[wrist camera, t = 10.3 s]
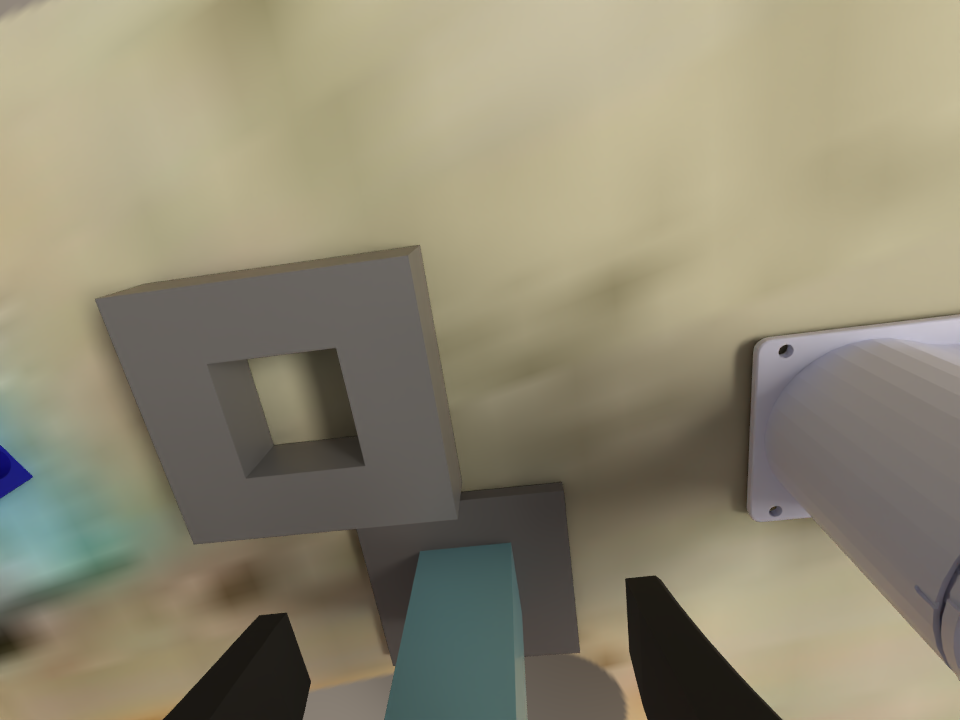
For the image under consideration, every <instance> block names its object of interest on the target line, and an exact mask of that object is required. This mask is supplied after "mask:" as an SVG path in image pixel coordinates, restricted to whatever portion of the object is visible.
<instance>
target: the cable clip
mask: <svg viewBox="0 0 960 720" xmlns="http://www.w3.org/2000/svg"><path fill="white" fill-rule="evenodd" d="M32 477H33V476H32V475H31V474H30V473H29V472H28V471H27V470H26V469H25V468H24V467H22V466H21V465H20V464H19V463H18V462H17V461H16V460H15V459H14V458H13V457H12V456H11V455H10V454H9V453H8V452H7V451H6V450H5V449H4V448H3V447H2V446H1V445H0V498H2V497H3V496H5V495H6V494H8V493H9V492H11V491H12V490H14V489H16V488H17V487H19V486H20V485H22V484H23V483H25V482H26V481H28V480H29V479H31V478H32Z"/></svg>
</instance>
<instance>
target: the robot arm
mask: <svg viewBox="0 0 960 720" xmlns="http://www.w3.org/2000/svg"><path fill="white" fill-rule="evenodd" d="M786 344H787V345H788V348H787V351H786V352H785V353H783V354H780V355H779V353H778V352H779V349H780V348H781V347H782V346H783V345H786ZM774 506H777V508H775V509H774V510H772V511H769V510H770V509H771V508H772V507H774ZM747 512H748V514H749V515H750V516H751V518H752V519H753V520H755V521H758V522H765V521H776V520H788V519H799V518H810V517H812V518H813V519H814V520H815V521H816V522H817V523H818V525H819V526H820V527H821V528H822V529H823V530H824V531H825V532H826V533H827V534H828V535H829V537H830V538H831V539H832V540H833V541H834V542H835V543H836V544H837V545H838V546H839V548H840V549H841V550H842V551H843V552H844V553H845V554H846V555H847V556H848V557H849V558H850V560H851V561H852V562H853V563H854V564H855V565H856V566H857V567H858V568H859V569H860V571H861V572H862V573H863V574H864V575H865V576H866V577H867V578H868V579H869V580H870V581H871V583H872V584H873V585H874V586H875V587H876V588H877V589H878V590H879V591H880V592H881V594H882V595H883V596H884V597H885V598H886V599H887V600H888V601H889V602H890V603H891V604H892V606H893V607H894V608H895V609H896V610H897V611H898V612H899V613H900V614H901V615H902V617H903V618H904V619H905V620H906V621H907V622H908V623H909V624H910V625H911V626H912V627H913V629H914V630H915V631H916V632H917V633H918V634H919V635H920V636H921V637H922V638H923V640H924V641H925V642H926V643H927V644H928V645H929V646H930V647H931V648H932V649H933V650H934V652H935V653H936V654H937V655H938V656H939V657H940V658H941V659H942V660H943V661H944V663H945V664H946V665H947V666H948V667H949V668H950V669H951V670H952V671H953V672H954V673H955V674H956V676H957V677H958V679H959V681H960V314H958V315H950V316H941V317H933V318H925V319H916V320H908V321H899V322H891V323H882V324H874V325H866V326H857V327H849V328H840V329H832V330H823V331H815V332H807V333H798V334H790V335H781V336H773V337H766V338H763V339H761V340H760V341H758V342H757V344H756V345H755V346H754V350H753V368H752V392H751V416H750V440H749V464H748V489H747ZM625 581H626V599H627V617H628V635H629V652H630V656H631V660H632V664H633V668H634V673H635V677H636V681H637V684H638V688H639V692H640V696H641V700H642V704H643V708H644V710H645V713H646V716H647V719H648V720H782V719H781V718H780V717H779V716H778V715H777V714H776V713H775V712H774V711H773V710H772V708H771V707H770V706H769V705H768V704H767V703H766V702H765V701H764V700H763V699H762V698H761V697H760V696H759V695H758V694H757V693H756V692H755V691H754V690H753V689H752V688H751V687H750V686H749V685H748V684H747V683H746V681H745V680H744V679H743V678H742V677H741V676H740V675H739V674H738V673H737V672H736V671H735V669H734V668H733V667H732V666H731V665H730V664H729V663H728V662H727V661H726V659H725V658H724V657H723V656H722V655H721V654H720V653H719V652H718V650H717V649H716V648H715V647H714V646H713V645H712V644H711V642H710V641H709V640H708V639H707V638H706V637H705V635H704V634H703V633H702V632H701V631H700V629H699V628H698V627H697V626H696V625H695V623H694V622H693V621H692V620H691V618H690V617H689V616H688V615H687V614H686V612H685V611H684V610H683V609H682V607H681V606H680V605H679V603H678V602H677V601H676V600H675V598H674V597H673V596H672V594H671V593H670V592H669V590H668V589H667V588H666V586H665V585H664V583H663V582H662V581H661V579H659V578H658V577H657V576H646V577H636V578H626V579H625ZM310 684H311V681H310V678H309V675H308V672H307V669H306V666H305V663H304V661H303V658H302V655H301V652H300V649H299V646H298V643H297V641H296V638H295V635H294V632H293V629H292V626H291V624H290V621H289V618H288V615H287V613H278V614H269V615H259V616H258V617H257V618H256V620H255V621H254V622H253V623H252V624H251V625H250V626H249V627H248V628H247V629H246V630H245V631H244V632H243V633H242V634H241V636H240V637H239V638H238V639H237V640H236V641H235V642H234V643H233V644H232V645H231V647H230V648H229V649H228V650H227V651H226V652H225V653H224V654H223V655H222V656H221V658H220V659H219V660H218V661H217V662H216V663H215V664H214V665H213V666H212V667H211V669H210V670H209V671H208V672H207V673H206V674H205V675H204V676H203V677H202V678H201V679H200V680H199V682H198V683H197V684H196V685H195V686H194V687H193V688H192V689H191V690H190V691H189V692H188V693H187V695H186V696H185V697H184V698H183V699H182V700H181V701H180V702H179V703H178V704H177V705H176V706H175V707H174V709H173V710H172V711H171V712H170V713H169V714H168V715H167V716H166V717H165V718H164V719H163V720H302V719H303V715H304V711H305V707H306V702H307V698H308V693H309V688H310Z"/></svg>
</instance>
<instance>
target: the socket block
mask: <svg viewBox="0 0 960 720" xmlns="http://www.w3.org/2000/svg"><path fill="white" fill-rule="evenodd" d="M95 301H96V303H97V306H98V308H99V311H100V313H101V316H102V318H103V321H104V323H105V326H106V328H107V331H108V333H109V336H110V338H111V340H112V343H113V345H114V348H115V350H116V353H117V355H118V358H119V360H120V363H121V365H122V368H123V370H124V373H125V375H126V378H127V380H128V383H129V385H130V388H131V390H132V392H133V395H134V397H135V400H136V402H137V405H138V407H139V410H140V412H141V415H142V417H143V420H144V422H145V425H146V427H147V430H148V432H149V435H150V437H151V440H152V442H153V444H154V447H155V449H156V452H157V454H158V457H159V459H160V462H161V464H162V467H163V469H164V472H165V474H166V477H167V479H168V482H169V484H170V487H171V489H172V492H173V494H174V496H175V499H176V501H177V504H178V506H179V509H180V511H181V514H182V516H183V519H184V521H185V524H186V526H187V529H188V531H189V534H190V536H191V539H192V541H193V544H203V543H214V542H224V541H235V540H245V539H256V538H266V537H277V536H287V535H298V534H308V533H319V532H329V531H340V530H351V529H361V528H372V527H382V526H393V525H403V524H414V523H424V522H435V521H445V520H456V519H458V511H459V503H460V495H461V487H462V479H461V473H460V467H459V462H458V456H457V451H456V445H455V439H454V434H453V428H452V423H451V417H450V411H449V406H448V400H447V394H446V389H445V383H444V378H443V372H442V366H441V361H440V355H439V350H438V344H437V338H436V333H435V327H434V322H433V316H432V310H431V305H430V299H429V293H428V288H427V282H426V277H425V271H424V265H423V260H422V254H421V249H420V245H417V246H410V247H403V248H396V249H389V250H382V251H375V252H368V253H360V254H353V255H346V256H339V257H332V258H325V259H318V260H311V261H304V262H297V263H289V264H282V265H275V266H268V267H261V268H254V269H247V270H240V271H233V272H225V273H218V274H211V275H204V276H197V277H190V278H183V279H176V280H169V281H162V282H154V283H147V284H143V285H139V286H136V287H133V288H129V289H126V290H123V291H120V292H116V293H113V294H110V295H106V296H103V297H100V298H97V299H95ZM331 348H336V350H337V354H338V358H339V362H340V366H341V370H342V374H343V378H344V382H345V386H346V390H347V394H348V398H349V402H350V406H351V410H352V414H353V419H354V423H355V427H356V431H357V435H358V436H353V437H344V438H335V439H326V440H317V441H308V442H298V443H289V444H280V445H274V444H273V441H272V438H271V435H270V431H269V428H268V425H267V422H266V419H265V416H264V412H263V409H262V406H261V403H260V400H259V396H258V393H257V390H256V387H255V384H254V380H253V377H252V374H251V371H250V368H249V365H248V361H247V359H252V358H260V357H268V356H276V355H284V354H292V353H300V352H307V351H315V350H323V349H331Z"/></svg>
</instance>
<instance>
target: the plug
mask: <svg viewBox="0 0 960 720" xmlns="http://www.w3.org/2000/svg"><path fill="white" fill-rule="evenodd" d="M526 703H527V702H526V683H525V663H524V643H523V623H522V610H521V604H520V597H519V591H518V584H517V578H516V572H515V565H514V559H513V552H512V546H511V543H501V544H491V545H480V546H470V547H459V548H449V549H438V550H428V551H420V554H419V559H418V563H417V568H416V573H415V577H414V582H413V587H412V591H411V596H410V601H409V606H408V610H407V615H406V620H405V624H404V629H403V634H402V638H401V643H400V648H399V653H398V657H397V662H396V667H395V671H394V676H393V681H392V686H391V690H390V695H389V700H388V704H387V709H386V714H385V718H384V720H527V704H526Z"/></svg>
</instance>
